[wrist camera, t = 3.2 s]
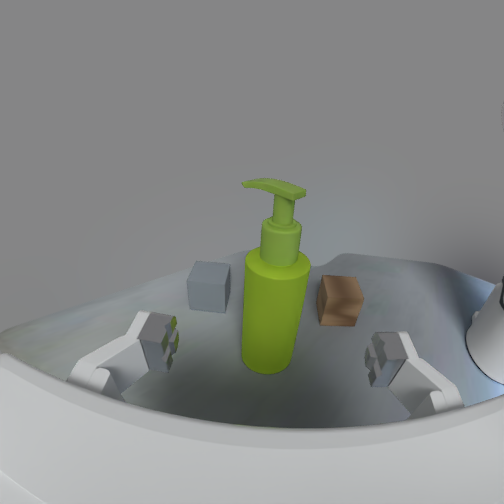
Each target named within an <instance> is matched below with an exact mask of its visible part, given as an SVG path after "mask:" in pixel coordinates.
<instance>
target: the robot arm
mask: <svg viewBox="0 0 504 504" xmlns="http://www.w3.org/2000/svg"><path fill="white" fill-rule="evenodd" d="M502 125H503V130H504V102H503V106H502ZM176 324H177V322H176V317H175V316H171V315H165V314H160V313H154V312H148V311H143V310H141V311H139V312H138V314H137V315H136V317H135V319H134V320H133V322H132V324H131V326H130V328H129V329H128V331H127V333H126V335H125V336H120V337H118V338H117V339H115V340H113V341H111V342H110V343H108V344H106V345H104V346H102V347H101V348H99V349H97V350H95V351H94V352H92V353H90V354H88V355H86V356H85V357H83V358H81V359H79V360H78V362H77V364H76V365H75V367H74V369H73V370H72V372H71V374H70V375H69V377H68V379H67V381H64V380H62V379H60V378H57V377H55V376H53V375H51V374H48V373H46V372H44V371H42V370H40V369H38V368H36V367H34V366H32V365H30V364H28V363H26V362H24V361H22V360H20V359H18V358H16V357H15V356H13V355H11V354H8V353H3V354H0V504H504V394H503V395H500V396H498V397H495V398H492V399H489V400H486V401H483V402H480V403H477V404H474V405H470V406H467V407H464V404H463V402H462V399H461V397H460V394H459V392H458V389H457V387H456V386H455V385H454V384H453V383H452V382H450V381H449V380H448V379H447V378H445V377H444V376H443V375H442V374H441V373H439V372H438V371H437V370H436V369H434V368H433V367H432V366H431V365H429V364H428V363H427V362H426V361H425V360H423V359H422V358H419V357H418V355H417V352H416V350H415V348H414V345H413V343H412V341H411V339H410V336H409V334H408V333H407V332H375V333H374V334H373V336H372V338H371V339H372V343H371V344H370V345H368V347H367V349H366V351H365V357H364V358H365V365H366V367H367V368H368V369H369V370H370V372H369V374H368V377H369V381H370V385H371V387H387V386H389V387H388V388H389V389H390V390H391V391H392V393H393V394H394V395H395V396H396V397H397V398H398V400H399V401H400V402H401V403H402V404H403V405H404V407H405V408H406V409H407V410H408V411H409V412H410V414H411V415H410V416H409V417H408V419H407V420H405V421H398V422H392V423H384V424H376V425H366V426H355V427H339V428H275V427H259V426H247V425H237V424H228V423H221V422H214V421H207V420H201V419H195V418H189V417H184V416H179V415H174V414H170V413H165V412H161V411H156V410H152V409H148V408H144V407H141V406H137V405H133V404H130V403H126V402H125V401H124V399H123V397H122V395H121V393H122V392H124V391H125V390H126V389H127V388H128V387H130V386H131V385H132V384H133V383H135V382H136V381H137V380H138V379H139V378H141V377H142V376H143V375H144V374H145V373H147V372H148V371H149V369H150V370H155V371H161V372H166V373H169V370H170V367H171V364H172V362H173V359H172V355H173V354H174V353H176V350H177V347H178V341H179V335H178V331H177V330H176V328H175V327H176ZM466 341H467V346H468V349H469V352H470V354H471V356H472V358H473V359H474V361H475V363H476V364H477V365H478V366H479V368H480V369H481V370H482V371H483V372H484V373H485V374H486V375H488V376H489V377H490V378H492V379H493V380H495V381H497V382H499V383H502V384H504V276H503V279H502V282H501V283H498V284H497V285H496V286H495V287H494V289H493V291H492V292H491V294H490V296H489V297H488V299H487V301H486V302H485V304H484V305H483V307H482V308H481V310H480V311H476V312H475V313H474V314H473V316H472V325H471V326H470V328H469V329H468V331H467V335H466Z"/></svg>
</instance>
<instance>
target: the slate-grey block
mask: <svg viewBox="0 0 504 504" xmlns="http://www.w3.org/2000/svg"><path fill="white" fill-rule="evenodd" d="M187 287H188V297H189V306H190V309H191V310H199V311H208V312H217V313H225V312H226V307H227V303H228V299H229V294H230V264H225V263H214V262H202V261H196V262H195V264H194V266H193V269H192V271H191V273H190V275H189V277H188V279H187Z"/></svg>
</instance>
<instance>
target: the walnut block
mask: <svg viewBox="0 0 504 504" xmlns="http://www.w3.org/2000/svg"><path fill="white" fill-rule="evenodd" d="M363 301H364V297H363V294H362V292H361V289H360V287H359V284H358V282H357V279H356V277H345V276H330V275H322V280H321V284H320V289H319V293H318V297H317V301H316V304H317V310H318V316H319V322H320V325H324V326H355V323H356V320H357V318H358V315H359V312H360V310H361V307H362V304H363Z"/></svg>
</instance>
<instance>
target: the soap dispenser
mask: <svg viewBox="0 0 504 504" xmlns="http://www.w3.org/2000/svg"><path fill="white" fill-rule="evenodd" d="M242 185H243V186H244V187H245V188H257V189H261V190H265V191H267V192H270V193H273V194H275V195H274V207H273V216H272V217H270V218H267V219H265V220H264V221H263V222H262V231H261V246H260V247H258V248H255V249H253V250H251V251H250V252H249V253H248V254H247V256H246V259H245V280H244V305H243V330H242V359H243V362H244V363H245V365H246V366H247V367H248V368H250V369H251V370H253V371H255V372H257V373H261V374H275V373H278V372H280V371H282V370H284V369H285V368H286V367H287V366H288V365H289V363H290V361H291V357H292V353H293V348H294V344H295V340H296V335H297V331H298V326H299V322H300V317H301V312H302V308H303V303H304V298H305V293H306V288H307V282H308V277H309V272H310V266H311V264H310V261H309V259H308V258H307V256H305V255H304V254H303V253H301V252H300V251H299V245H300V238H301V231H302V226H301V224H300V223H299V222H297V221H296V220H294V219H293V213H294V205H295V200H297V199H300V198H302V197H305V196H306V189H303V188H301V187H298V186H296V185H293V184H290V183H288V182H285V181H281V180H277V179H269V178H260V179H254V180H250V181H245V182H242Z"/></svg>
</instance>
